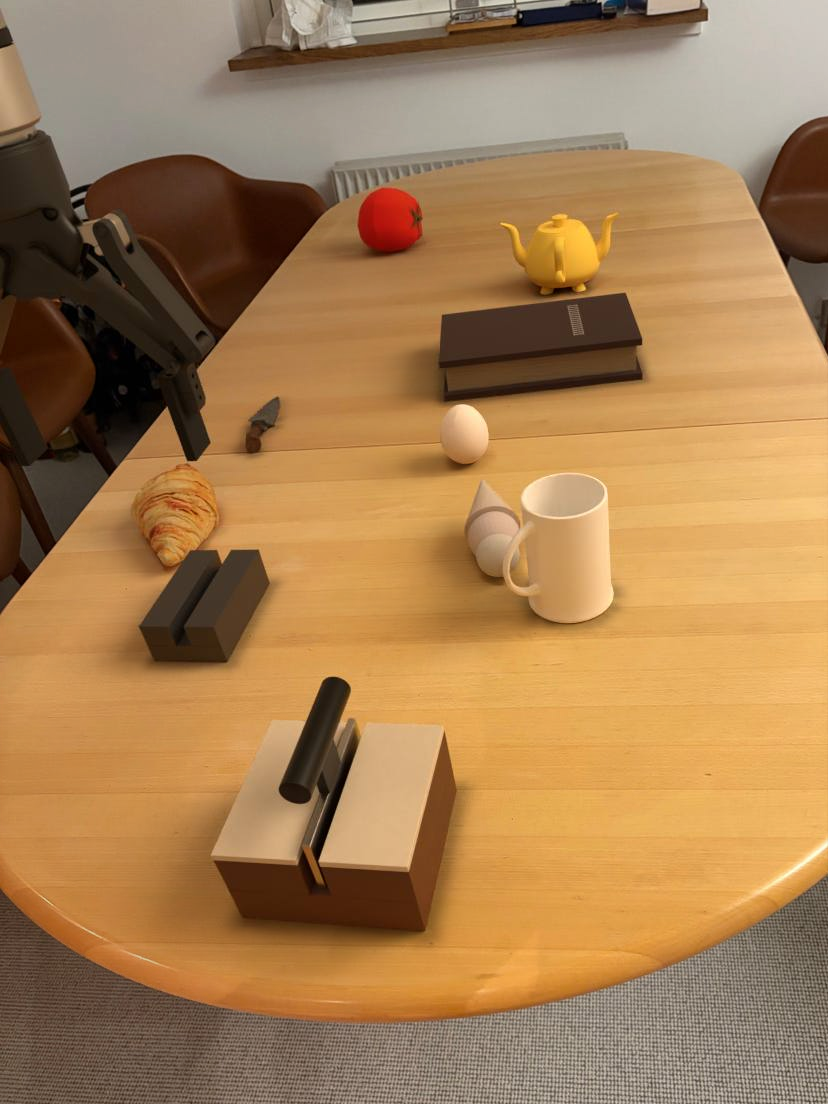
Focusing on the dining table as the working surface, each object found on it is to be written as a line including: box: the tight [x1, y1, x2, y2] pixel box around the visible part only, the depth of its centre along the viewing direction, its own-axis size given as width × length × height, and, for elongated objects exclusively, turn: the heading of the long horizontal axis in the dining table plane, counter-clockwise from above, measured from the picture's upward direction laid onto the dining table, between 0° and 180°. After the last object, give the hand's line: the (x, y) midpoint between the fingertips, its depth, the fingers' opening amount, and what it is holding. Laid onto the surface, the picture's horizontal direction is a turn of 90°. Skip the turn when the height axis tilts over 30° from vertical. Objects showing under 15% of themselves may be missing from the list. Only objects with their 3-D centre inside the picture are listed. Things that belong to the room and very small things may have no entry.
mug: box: [503, 472, 615, 624], centre depth 87 cm, size 12×8×12 cm
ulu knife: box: [279, 676, 362, 890], centre depth 65 cm, size 2×12×10 cm, turn 171°
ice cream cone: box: [463, 478, 522, 578], centre depth 98 cm, size 6×6×15 cm
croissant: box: [130, 462, 220, 567], centre depth 110 cm, size 21×10×8 cm, turn 10°
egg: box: [439, 403, 490, 465], centre depth 113 cm, size 6×6×8 cm
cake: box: [210, 719, 458, 932], centre depth 68 cm, size 14×13×8 cm
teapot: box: [500, 211, 620, 295], centre depth 155 cm, size 20×15×12 cm
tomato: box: [357, 187, 423, 253], centre depth 183 cm, size 13×13×13 cm
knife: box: [244, 396, 281, 454], centre depth 130 cm, size 17×2×5 cm
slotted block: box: [138, 549, 271, 663], centre depth 95 cm, size 8×13×4 cm, turn 171°
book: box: [438, 292, 643, 402], centre depth 134 cm, size 28×20×6 cm
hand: (115, 455), depth 68 cm, fingers open, 13 cm apart
